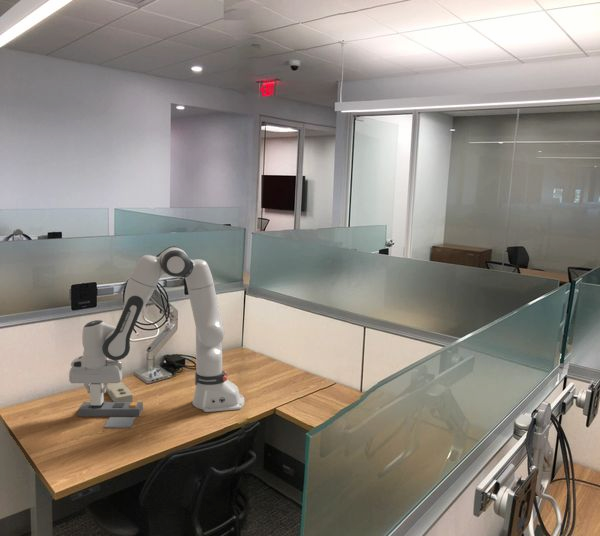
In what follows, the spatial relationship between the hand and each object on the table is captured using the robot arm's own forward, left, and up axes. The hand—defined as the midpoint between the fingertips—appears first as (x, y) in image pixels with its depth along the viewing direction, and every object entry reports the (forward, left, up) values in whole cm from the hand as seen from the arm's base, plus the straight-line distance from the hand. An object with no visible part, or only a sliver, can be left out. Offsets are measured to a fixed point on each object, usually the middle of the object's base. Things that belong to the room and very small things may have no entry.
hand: (96, 392), depth 210 cm
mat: (-12, +10, -9) cm, 17 cm away
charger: (0, 0, -5) cm, 5 cm away
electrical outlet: (-5, -16, -9) cm, 19 cm away
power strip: (-6, 0, -9) cm, 10 cm away
